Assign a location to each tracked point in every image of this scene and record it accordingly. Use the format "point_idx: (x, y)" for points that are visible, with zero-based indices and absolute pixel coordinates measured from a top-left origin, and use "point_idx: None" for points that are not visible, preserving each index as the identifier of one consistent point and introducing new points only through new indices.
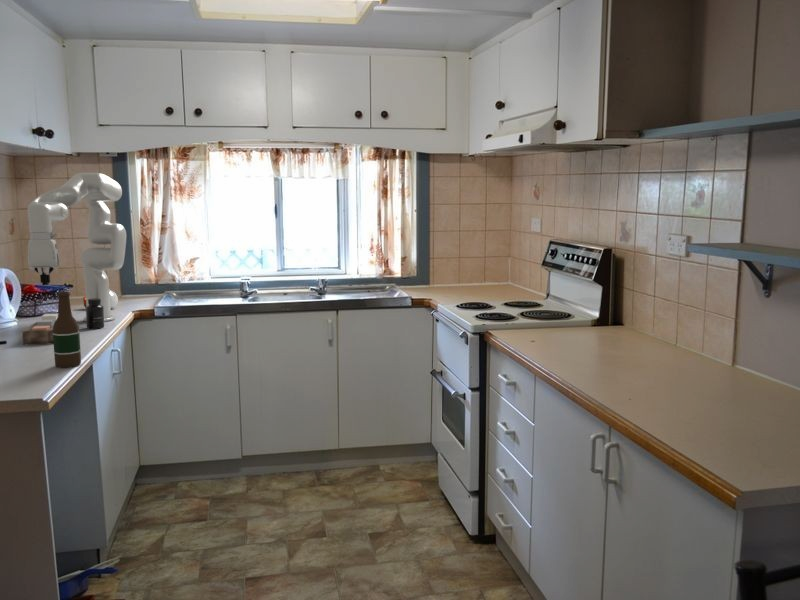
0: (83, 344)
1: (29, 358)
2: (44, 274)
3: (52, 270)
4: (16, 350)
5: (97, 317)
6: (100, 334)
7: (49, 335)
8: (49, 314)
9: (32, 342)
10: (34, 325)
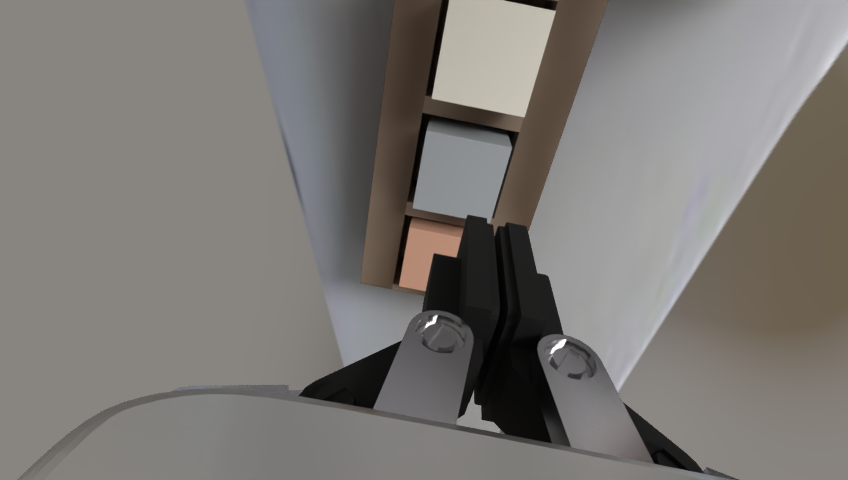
0: (595, 328)
1: None
2: (479, 350)
3: (644, 437)
4: (365, 332)
5: None
6: (730, 142)
7: None
8: (484, 32)
9: None
10: (396, 142)
